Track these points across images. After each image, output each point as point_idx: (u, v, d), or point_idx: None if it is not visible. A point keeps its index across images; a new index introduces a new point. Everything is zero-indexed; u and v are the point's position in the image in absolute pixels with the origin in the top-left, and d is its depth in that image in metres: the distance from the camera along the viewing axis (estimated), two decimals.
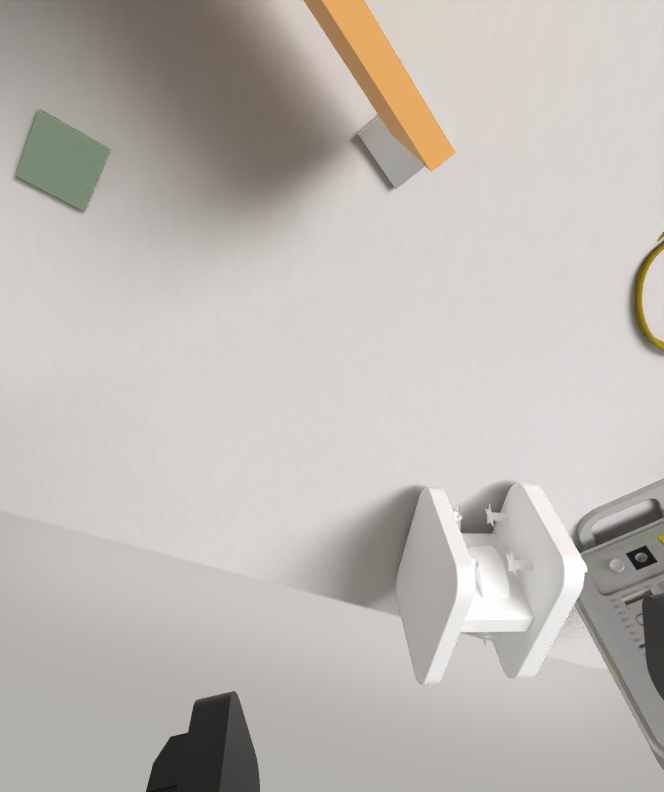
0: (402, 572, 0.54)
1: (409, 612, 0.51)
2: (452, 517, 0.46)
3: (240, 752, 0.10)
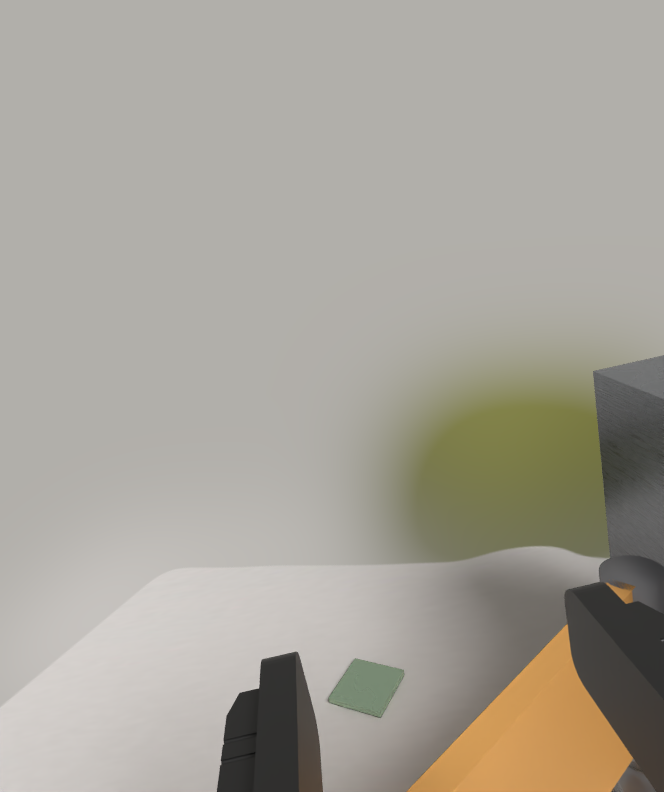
0: None
1: None
2: None
3: (305, 706, 0.11)
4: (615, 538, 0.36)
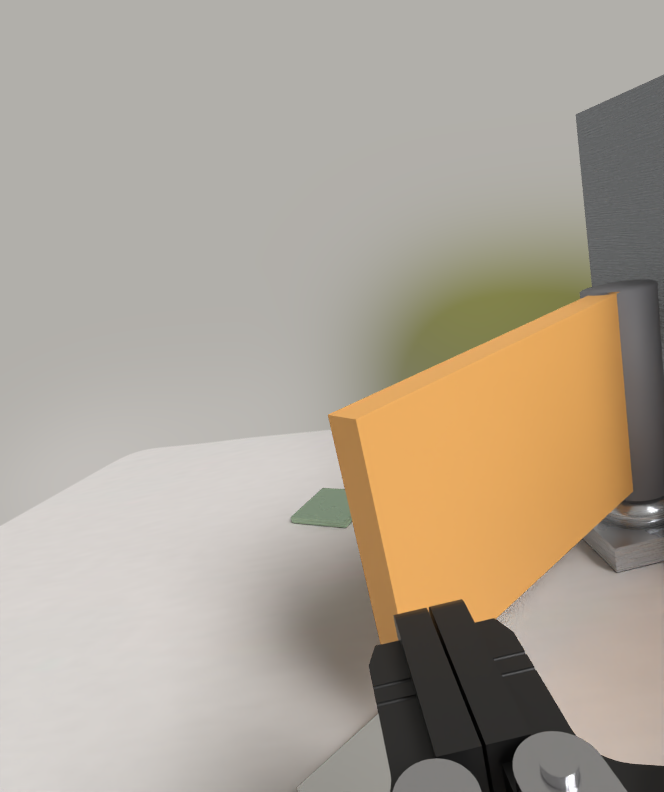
0: None
1: None
2: None
3: None
4: None
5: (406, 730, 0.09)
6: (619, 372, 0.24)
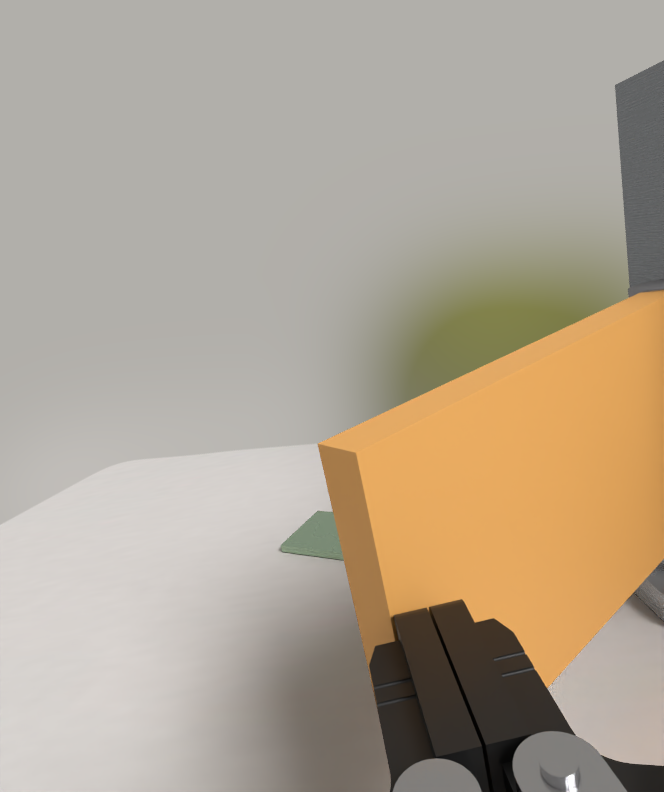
0: None
1: None
2: None
3: None
4: None
5: (406, 730, 0.09)
6: None
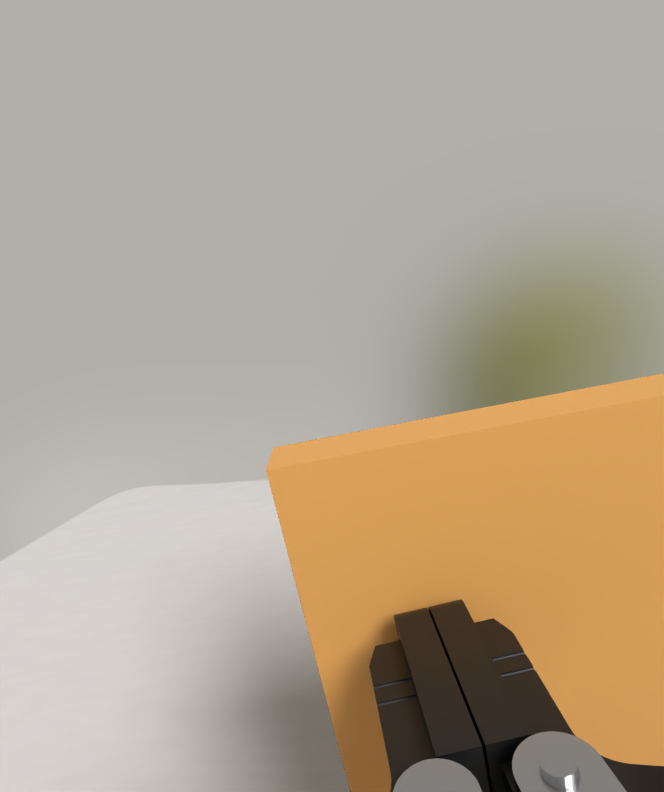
0: None
1: None
2: None
3: None
4: None
5: (406, 730, 0.09)
6: None
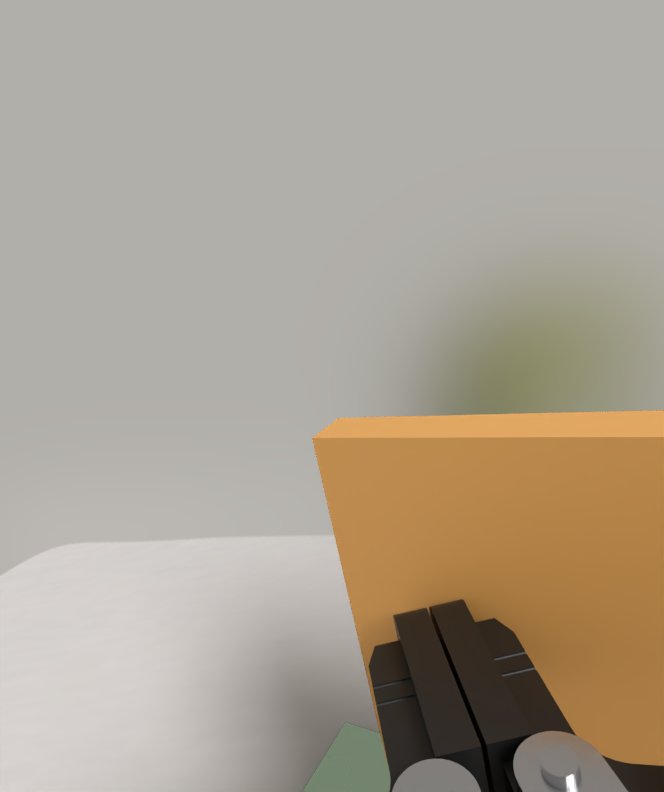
0: None
1: None
2: None
3: None
4: None
5: (406, 730, 0.09)
6: None
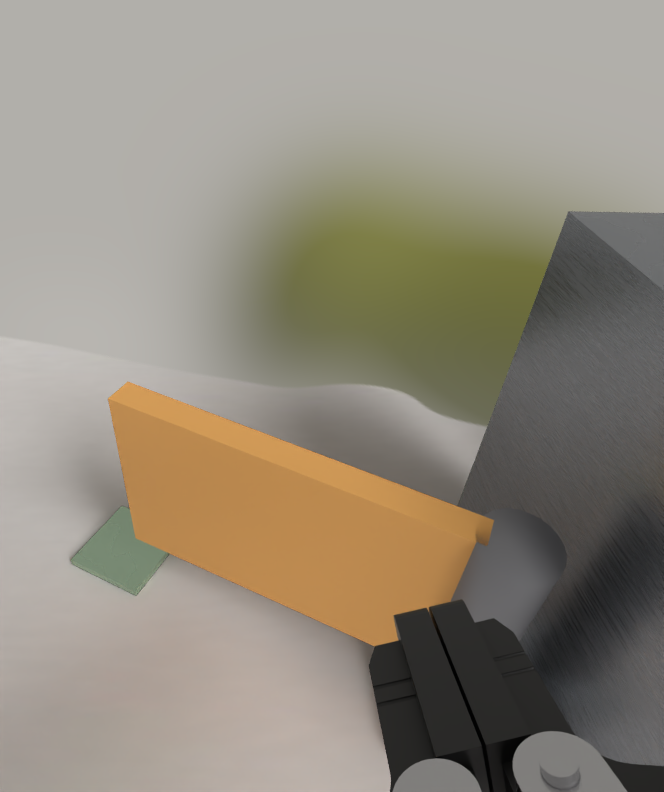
0: None
1: None
2: None
3: None
4: (492, 443, 0.27)
5: (406, 730, 0.09)
6: (444, 592, 0.21)
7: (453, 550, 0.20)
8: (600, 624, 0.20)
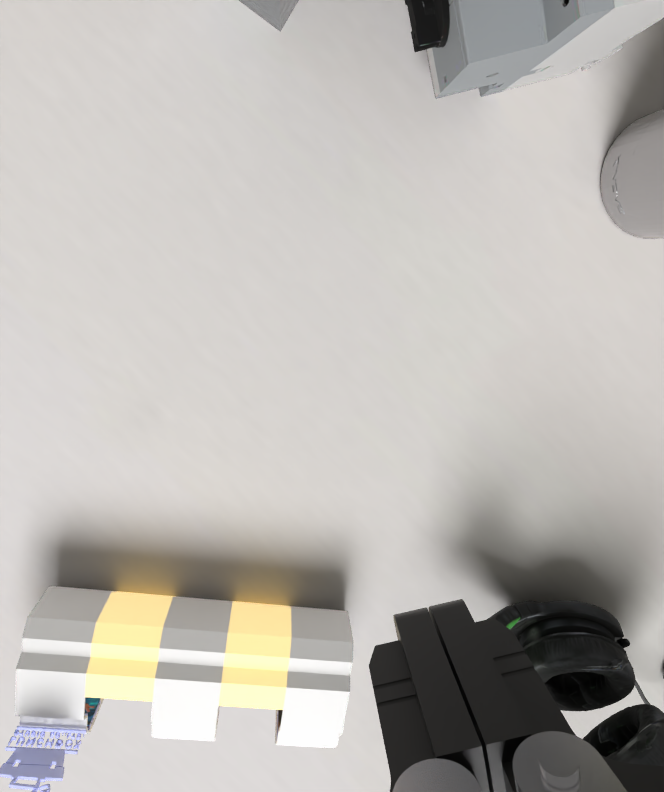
0: None
1: None
2: None
3: None
4: None
5: (406, 730, 0.09)
6: None
7: None
8: None
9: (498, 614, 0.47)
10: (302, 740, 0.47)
